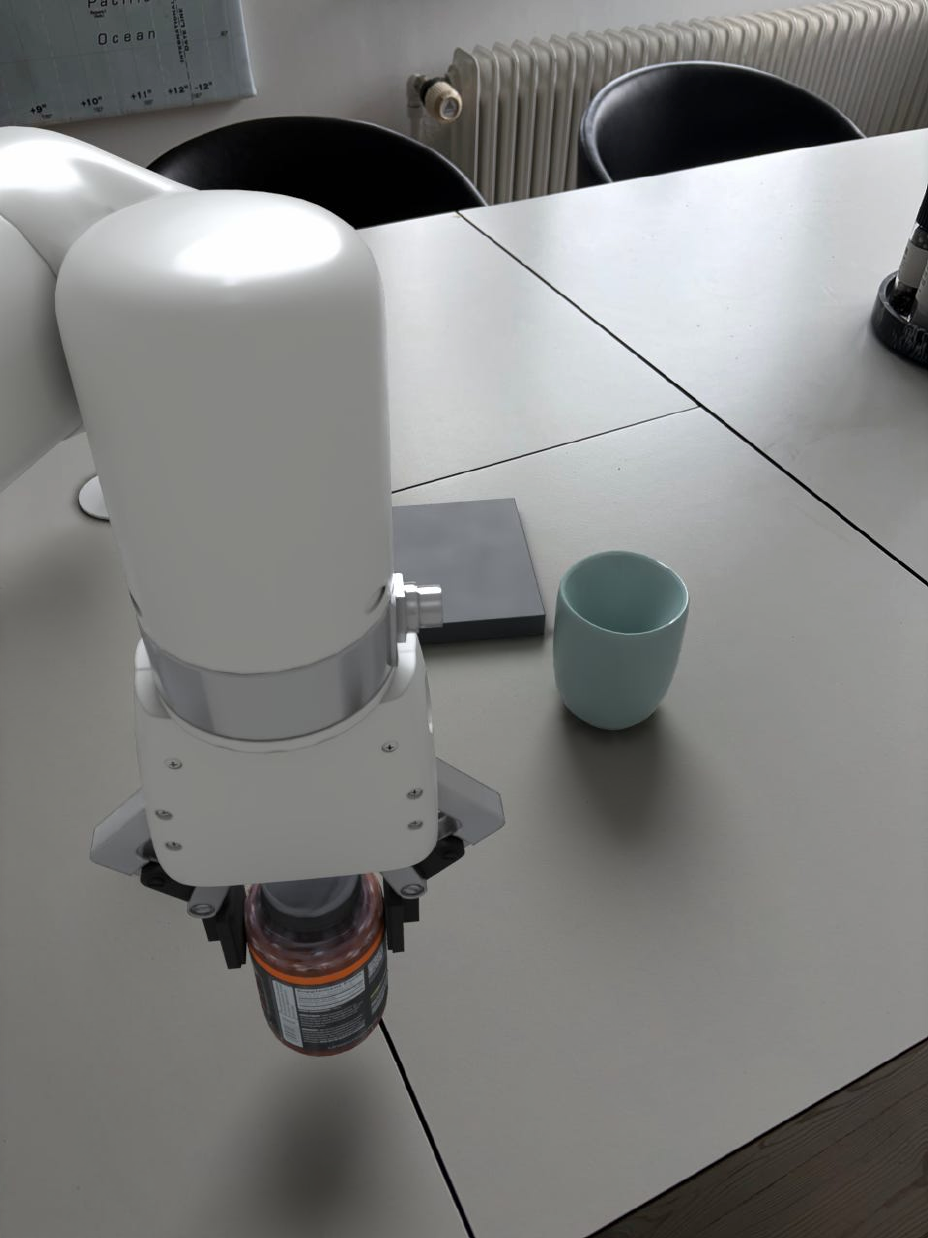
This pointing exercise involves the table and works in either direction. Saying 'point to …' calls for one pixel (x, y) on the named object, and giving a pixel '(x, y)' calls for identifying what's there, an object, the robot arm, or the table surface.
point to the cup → (617, 637)
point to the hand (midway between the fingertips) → (316, 927)
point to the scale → (470, 568)
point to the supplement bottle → (319, 959)
